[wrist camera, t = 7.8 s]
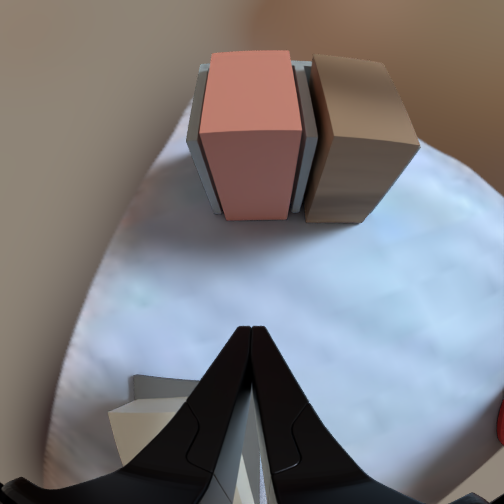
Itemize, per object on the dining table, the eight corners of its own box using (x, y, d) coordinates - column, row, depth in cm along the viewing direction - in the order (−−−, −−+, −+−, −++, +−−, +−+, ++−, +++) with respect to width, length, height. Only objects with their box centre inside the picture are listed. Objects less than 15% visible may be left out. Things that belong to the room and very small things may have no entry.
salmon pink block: (286, 219, 19) (301, 130, 10) (226, 220, 19) (199, 133, 10) (282, 147, 20) (288, 50, 12) (229, 148, 21) (212, 53, 12)
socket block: (371, 213, 19) (420, 147, 11) (214, 213, 19) (185, 141, 12) (357, 145, 21) (387, 71, 13) (218, 144, 21) (200, 64, 13)
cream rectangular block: (255, 506, 13) (252, 539, 9) (170, 508, 13) (152, 536, 9) (228, 392, 15) (218, 408, 12) (137, 399, 15) (107, 412, 11)
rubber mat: (259, 517, 13) (259, 521, 12) (150, 504, 13) (147, 507, 13) (259, 382, 16) (259, 384, 15) (137, 374, 16) (133, 375, 16)
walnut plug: (361, 222, 19) (420, 145, 10) (305, 222, 19) (334, 136, 10) (349, 152, 20) (382, 63, 12) (298, 150, 20) (313, 53, 12)
